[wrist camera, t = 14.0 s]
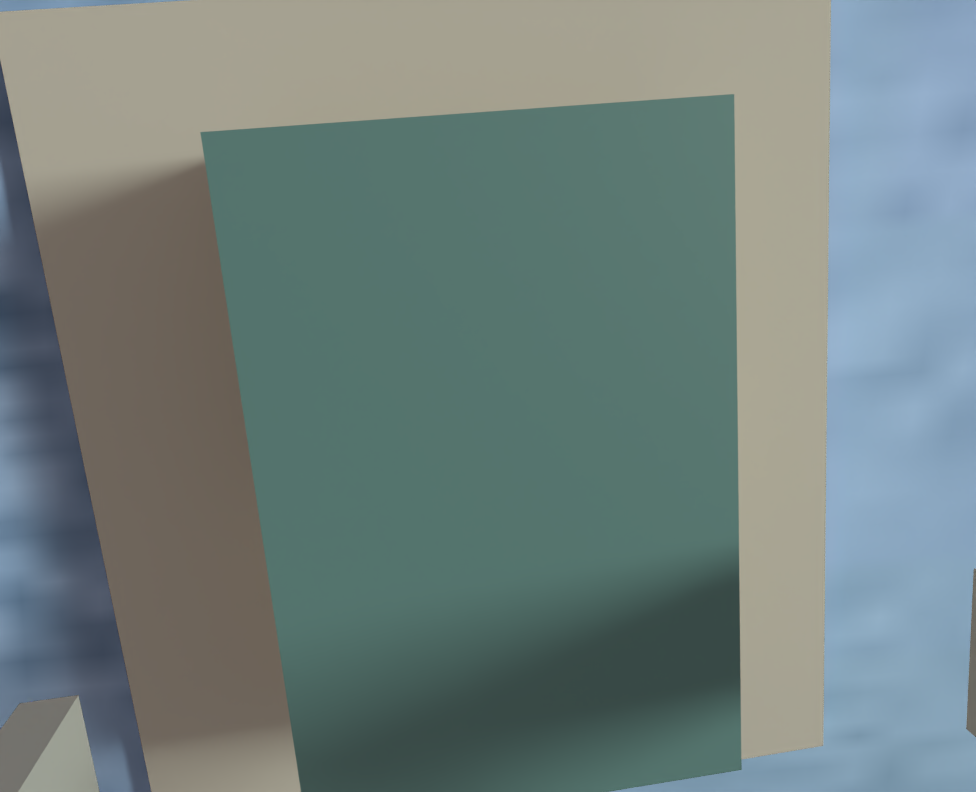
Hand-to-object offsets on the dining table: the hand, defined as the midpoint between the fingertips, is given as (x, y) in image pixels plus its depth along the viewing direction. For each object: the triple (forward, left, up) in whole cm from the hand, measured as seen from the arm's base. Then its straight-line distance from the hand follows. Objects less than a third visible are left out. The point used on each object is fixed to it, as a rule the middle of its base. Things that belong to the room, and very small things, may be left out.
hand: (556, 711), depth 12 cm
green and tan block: (-3, 0, -5) cm, 6 cm away
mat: (+2, 0, -7) cm, 7 cm away
